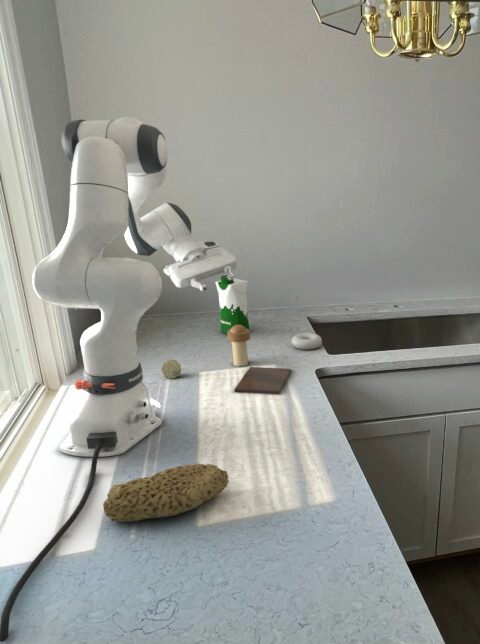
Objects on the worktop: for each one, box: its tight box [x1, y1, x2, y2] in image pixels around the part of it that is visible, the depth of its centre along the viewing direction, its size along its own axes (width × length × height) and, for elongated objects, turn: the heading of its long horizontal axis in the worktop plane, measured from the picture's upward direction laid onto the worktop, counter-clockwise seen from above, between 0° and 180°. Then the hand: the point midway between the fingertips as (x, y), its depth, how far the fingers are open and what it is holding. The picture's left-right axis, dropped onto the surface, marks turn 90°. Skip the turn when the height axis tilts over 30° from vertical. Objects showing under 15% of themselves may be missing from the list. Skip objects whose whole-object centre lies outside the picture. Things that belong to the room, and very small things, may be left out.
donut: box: [291, 332, 323, 351], centre depth 183 cm, size 10×4×10 cm
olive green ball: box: [161, 359, 182, 379], centre depth 156 cm, size 4×5×5 cm
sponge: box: [102, 463, 230, 523], centre depth 101 cm, size 13×8×20 cm
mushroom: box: [226, 325, 251, 367], centre depth 165 cm, size 6×6×12 cm
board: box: [234, 366, 292, 395], centre depth 156 cm, size 16×12×1 cm
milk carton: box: [214, 274, 251, 335], centre depth 191 cm, size 9×9×20 cm
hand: (218, 283), depth 164 cm, fingers open, 8 cm apart
